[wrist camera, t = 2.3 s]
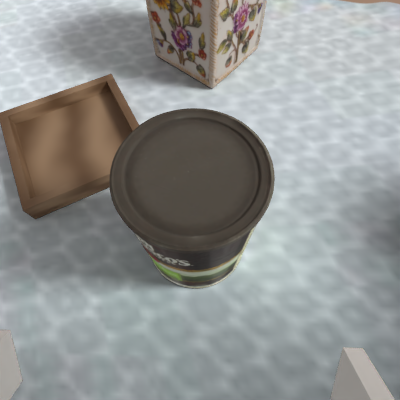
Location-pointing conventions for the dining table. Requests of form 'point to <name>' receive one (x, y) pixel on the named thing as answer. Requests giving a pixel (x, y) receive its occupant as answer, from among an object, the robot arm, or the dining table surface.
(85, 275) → the dining table surface
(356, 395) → the robot arm
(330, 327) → the dining table surface
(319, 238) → the dining table surface
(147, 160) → the coffee can
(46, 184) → the holder tray
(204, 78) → the decorative jar
